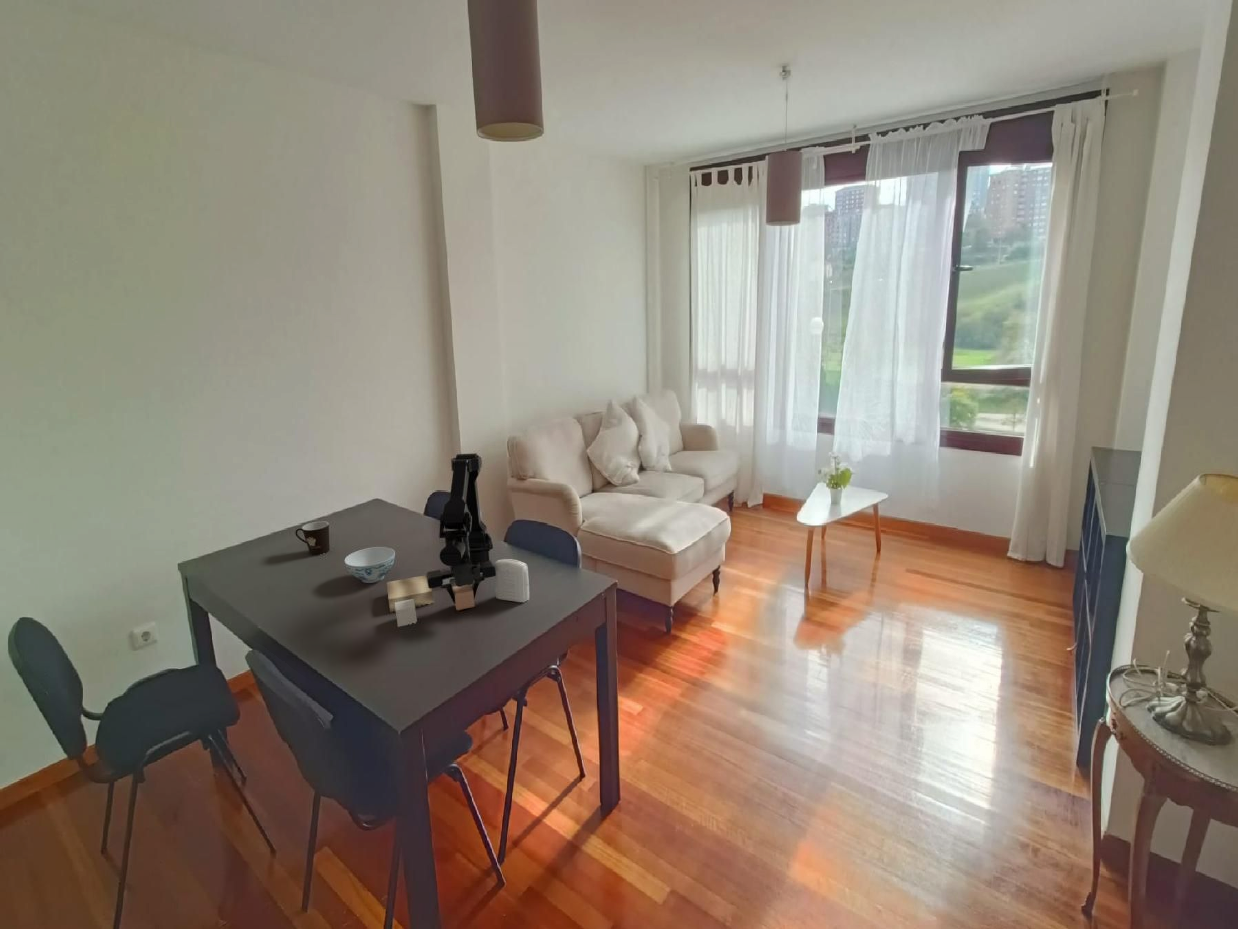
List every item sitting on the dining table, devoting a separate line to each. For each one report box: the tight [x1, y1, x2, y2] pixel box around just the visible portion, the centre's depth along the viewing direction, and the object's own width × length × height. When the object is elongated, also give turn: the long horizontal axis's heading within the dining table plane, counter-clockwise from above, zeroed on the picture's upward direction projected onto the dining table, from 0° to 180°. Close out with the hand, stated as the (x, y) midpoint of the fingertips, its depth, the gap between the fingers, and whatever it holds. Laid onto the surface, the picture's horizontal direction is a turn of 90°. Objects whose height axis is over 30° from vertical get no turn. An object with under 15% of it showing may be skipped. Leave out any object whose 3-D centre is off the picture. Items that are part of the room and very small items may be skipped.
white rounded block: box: [493, 558, 530, 603], centre depth 180 cm, size 10×4×12 cm, turn 73°
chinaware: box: [344, 546, 396, 584], centre depth 196 cm, size 15×15×8 cm
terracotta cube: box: [452, 584, 475, 611], centre depth 176 cm, size 5×5×5 cm
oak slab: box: [386, 574, 435, 613], centre depth 182 cm, size 12×12×4 cm
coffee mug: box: [294, 520, 330, 556], centre depth 219 cm, size 12×9×10 cm
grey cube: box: [395, 599, 418, 628], centre depth 170 cm, size 5×5×5 cm
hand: (464, 601), depth 177 cm, fingers closed on terracotta cube, 5 cm apart
